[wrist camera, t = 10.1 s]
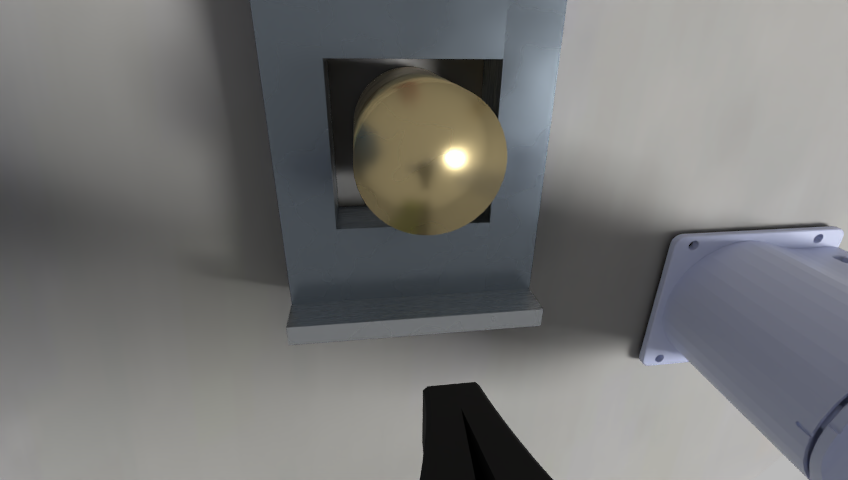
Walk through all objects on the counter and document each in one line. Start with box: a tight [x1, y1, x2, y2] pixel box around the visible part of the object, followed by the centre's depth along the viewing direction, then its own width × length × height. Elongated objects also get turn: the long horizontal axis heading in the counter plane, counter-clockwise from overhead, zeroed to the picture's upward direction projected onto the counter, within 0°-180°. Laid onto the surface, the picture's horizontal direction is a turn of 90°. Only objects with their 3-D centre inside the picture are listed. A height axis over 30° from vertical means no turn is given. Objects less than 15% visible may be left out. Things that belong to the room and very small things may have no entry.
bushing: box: [353, 67, 507, 235], centre depth 15 cm, size 4×4×6 cm
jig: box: [250, 0, 567, 345], centre depth 16 cm, size 10×14×4 cm
